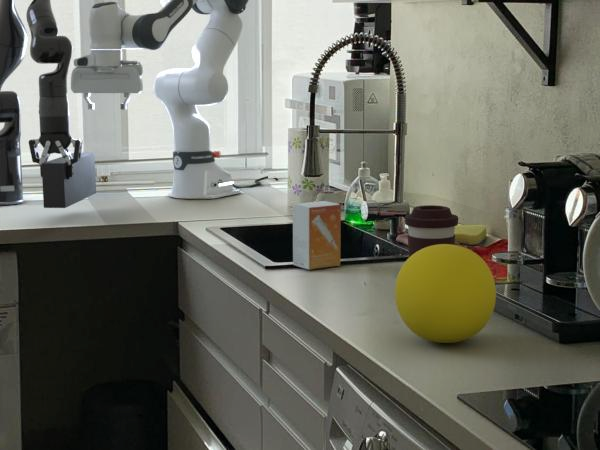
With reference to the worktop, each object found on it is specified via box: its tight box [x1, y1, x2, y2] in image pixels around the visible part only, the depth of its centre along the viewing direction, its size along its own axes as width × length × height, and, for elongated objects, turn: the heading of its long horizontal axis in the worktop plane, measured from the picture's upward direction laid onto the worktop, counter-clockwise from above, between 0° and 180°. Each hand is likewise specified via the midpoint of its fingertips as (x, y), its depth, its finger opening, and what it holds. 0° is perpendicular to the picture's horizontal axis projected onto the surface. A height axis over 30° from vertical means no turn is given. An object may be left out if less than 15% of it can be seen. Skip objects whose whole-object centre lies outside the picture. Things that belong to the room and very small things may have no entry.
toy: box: [394, 244, 497, 344], centre depth 160 cm, size 15×15×15 cm
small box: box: [292, 200, 342, 271], centre depth 216 cm, size 8×6×13 cm
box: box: [41, 152, 97, 209], centre depth 283 cm, size 28×6×12 cm, turn 175°
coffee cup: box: [404, 204, 459, 258], centre depth 197 cm, size 10×10×15 cm
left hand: (57, 178), depth 272 cm, fingers closed on box, 5 cm apart
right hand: (107, 109), depth 297 cm, fingers open, 8 cm apart
